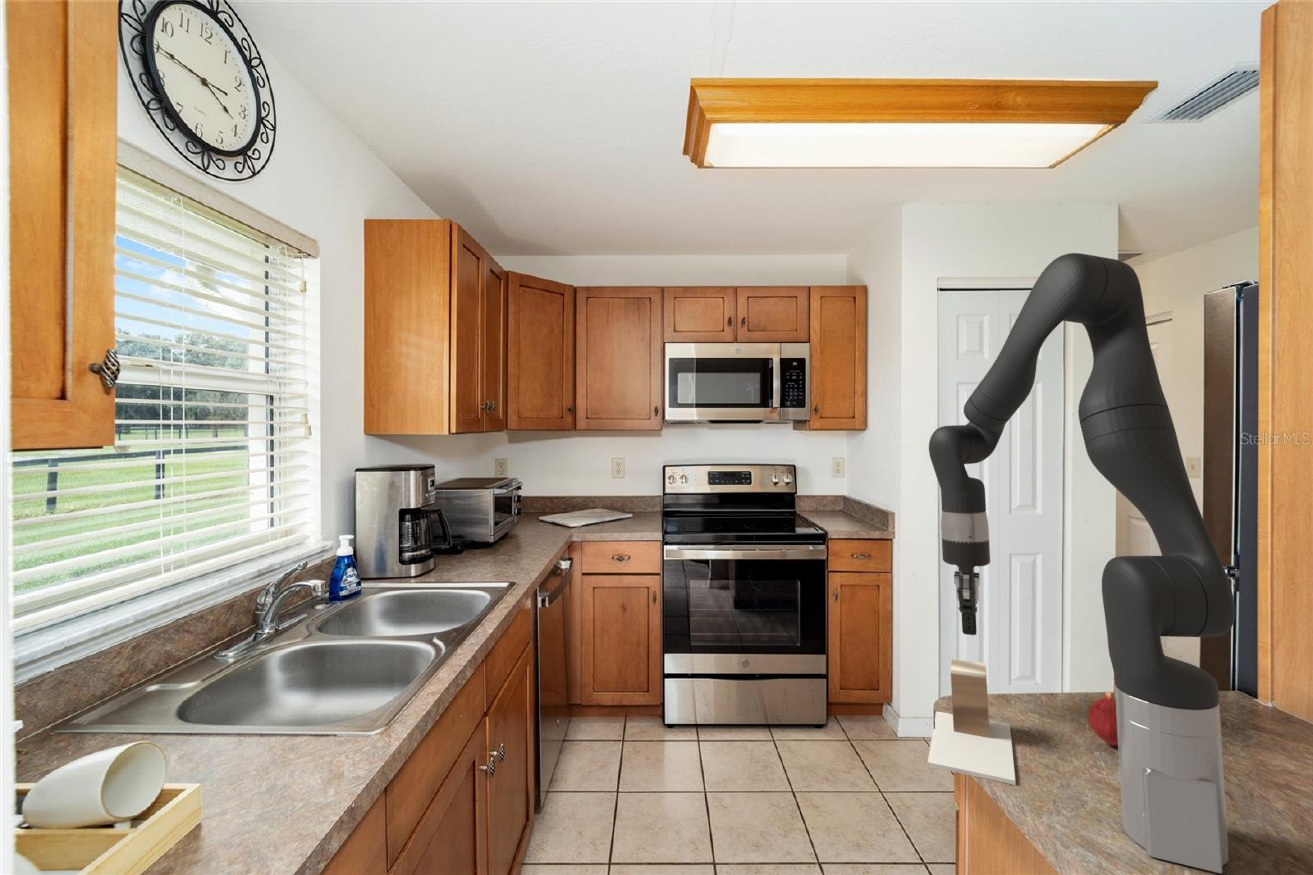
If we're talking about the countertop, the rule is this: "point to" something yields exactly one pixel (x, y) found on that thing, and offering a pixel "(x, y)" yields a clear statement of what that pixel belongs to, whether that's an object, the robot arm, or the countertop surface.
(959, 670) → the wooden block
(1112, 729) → the onion
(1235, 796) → the countertop surface
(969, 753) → the mat
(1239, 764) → the countertop surface
